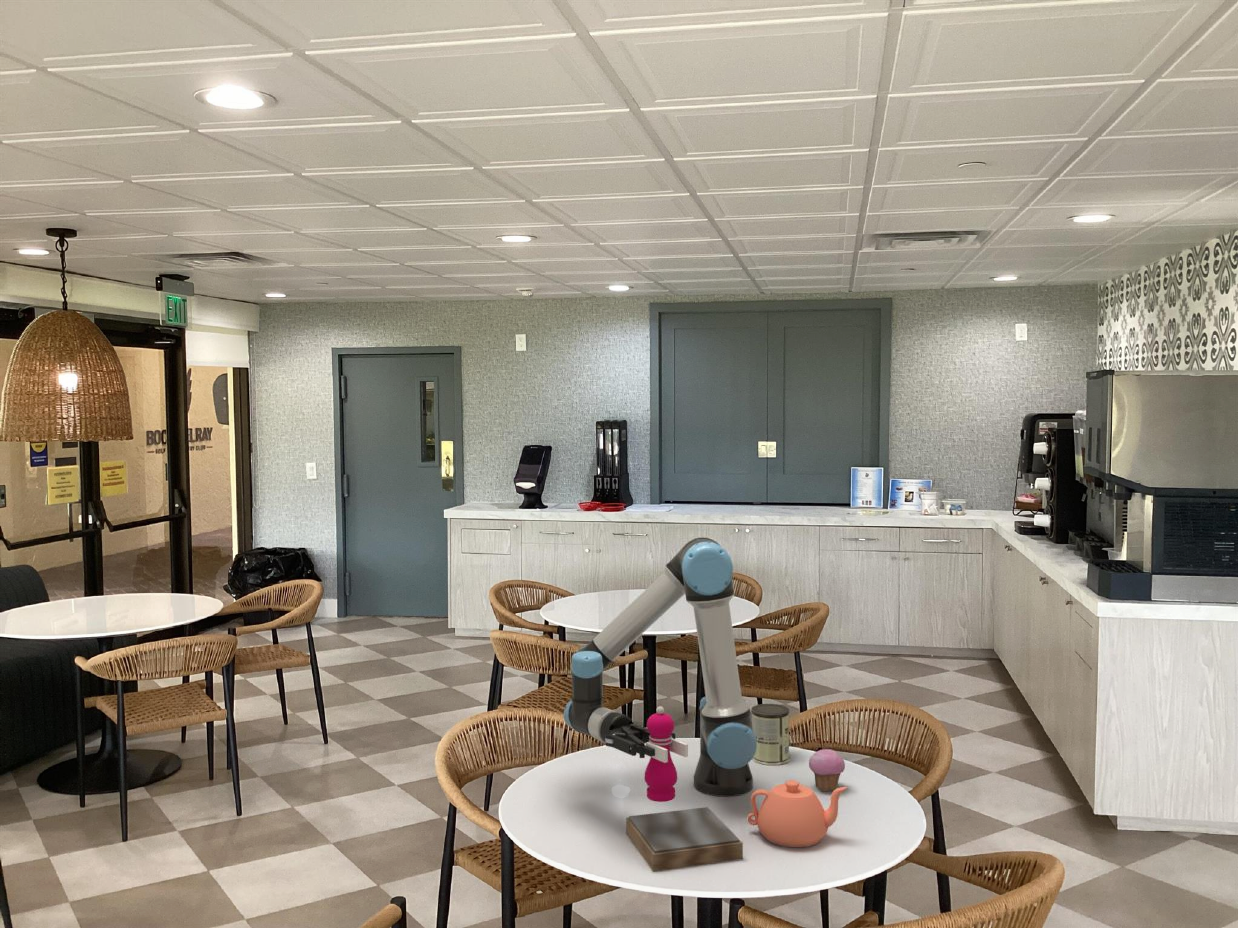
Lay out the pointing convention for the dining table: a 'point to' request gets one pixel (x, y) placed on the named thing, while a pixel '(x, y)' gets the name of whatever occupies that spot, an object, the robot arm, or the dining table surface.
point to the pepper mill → (658, 772)
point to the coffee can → (771, 733)
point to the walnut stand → (683, 838)
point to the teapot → (793, 814)
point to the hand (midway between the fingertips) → (676, 753)
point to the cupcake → (826, 768)
